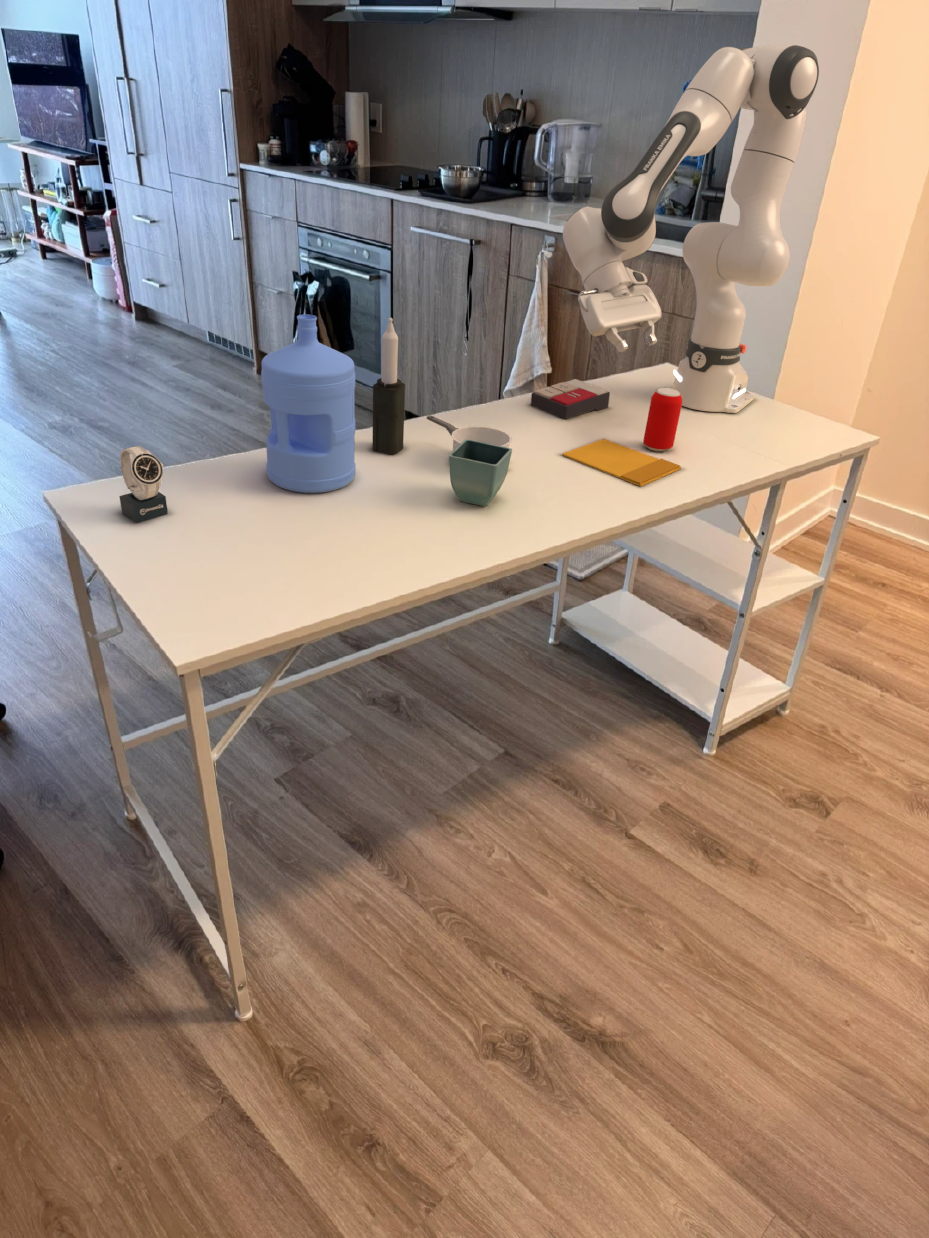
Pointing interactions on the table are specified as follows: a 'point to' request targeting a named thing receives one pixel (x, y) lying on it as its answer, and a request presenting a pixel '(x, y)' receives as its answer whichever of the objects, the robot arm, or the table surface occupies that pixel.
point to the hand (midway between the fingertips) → (638, 347)
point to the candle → (388, 399)
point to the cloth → (622, 462)
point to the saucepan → (474, 434)
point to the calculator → (570, 398)
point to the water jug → (310, 414)
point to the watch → (142, 485)
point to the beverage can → (662, 419)
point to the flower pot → (478, 471)
